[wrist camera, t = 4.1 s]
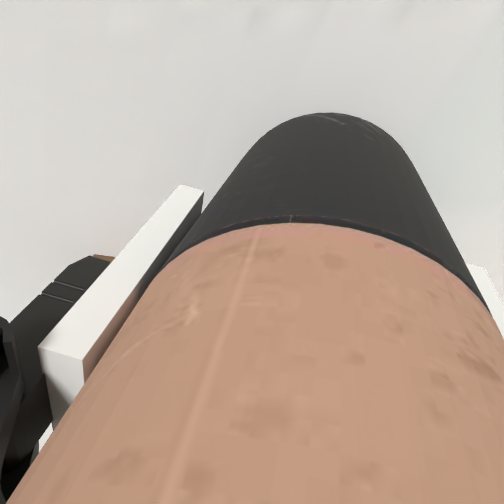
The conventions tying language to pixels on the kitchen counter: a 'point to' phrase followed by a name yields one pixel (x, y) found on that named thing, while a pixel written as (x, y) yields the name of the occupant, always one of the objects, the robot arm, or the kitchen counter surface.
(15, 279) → the kitchen counter surface
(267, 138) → the travel mug
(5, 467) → the robot arm
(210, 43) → the kitchen counter surface
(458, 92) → the kitchen counter surface
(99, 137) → the kitchen counter surface
